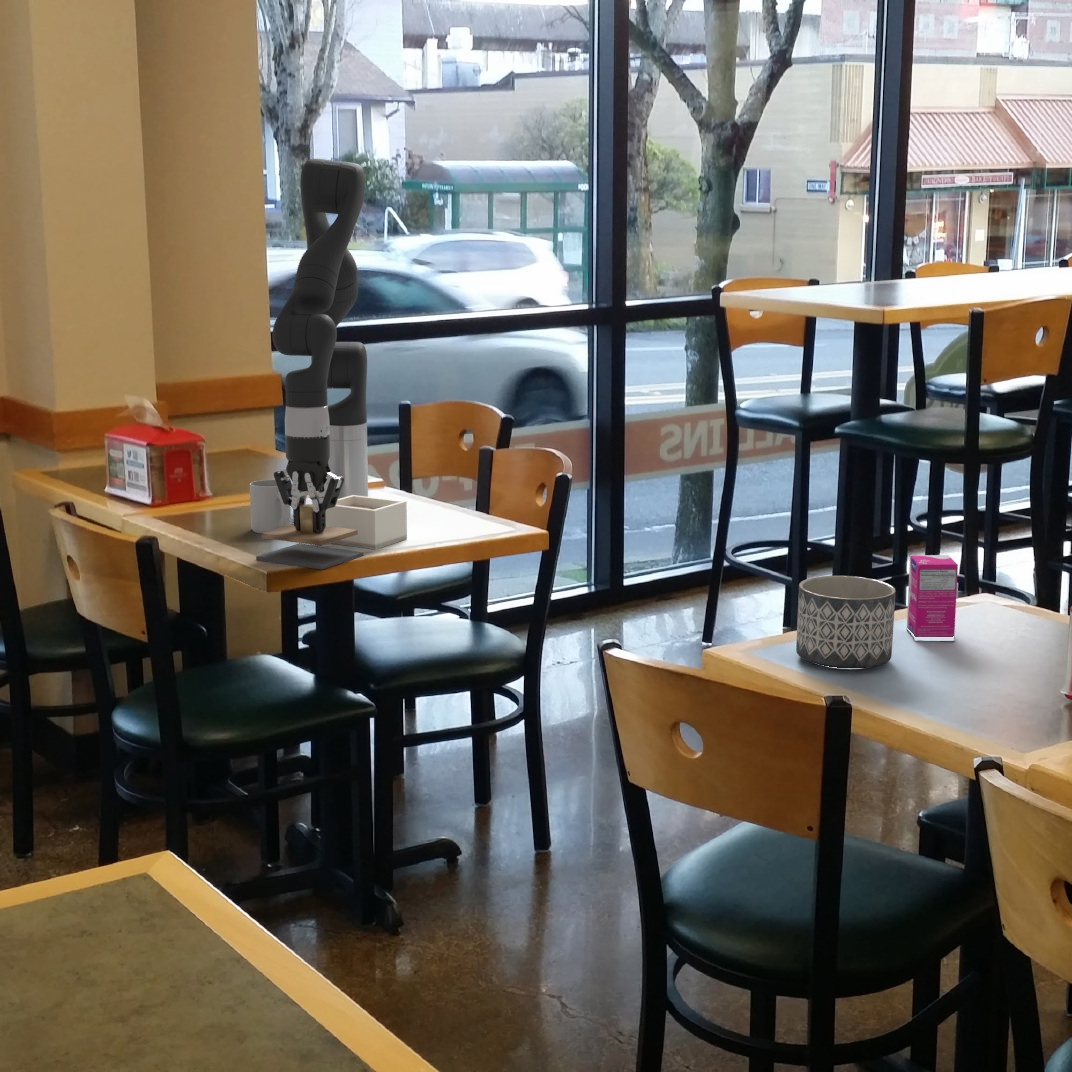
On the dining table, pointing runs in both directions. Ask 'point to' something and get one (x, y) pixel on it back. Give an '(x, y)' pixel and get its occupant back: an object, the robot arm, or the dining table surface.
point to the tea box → (369, 520)
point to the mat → (310, 556)
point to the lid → (309, 531)
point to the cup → (267, 507)
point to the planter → (845, 621)
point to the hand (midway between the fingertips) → (309, 530)
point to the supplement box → (932, 595)
